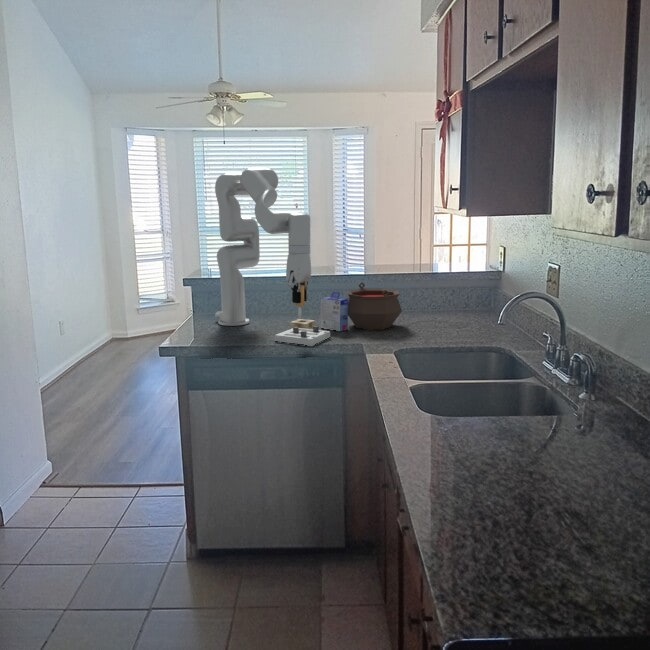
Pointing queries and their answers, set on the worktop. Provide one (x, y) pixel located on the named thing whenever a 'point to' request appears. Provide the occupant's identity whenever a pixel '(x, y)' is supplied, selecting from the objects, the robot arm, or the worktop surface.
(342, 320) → the ink cartridge box
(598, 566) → the worktop surface
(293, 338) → the switch bank
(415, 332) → the worktop surface
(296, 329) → the tab
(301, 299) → the tan rounded cylinder
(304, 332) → the tab
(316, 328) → the tab
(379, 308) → the brown cauldron pot
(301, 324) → the stand
